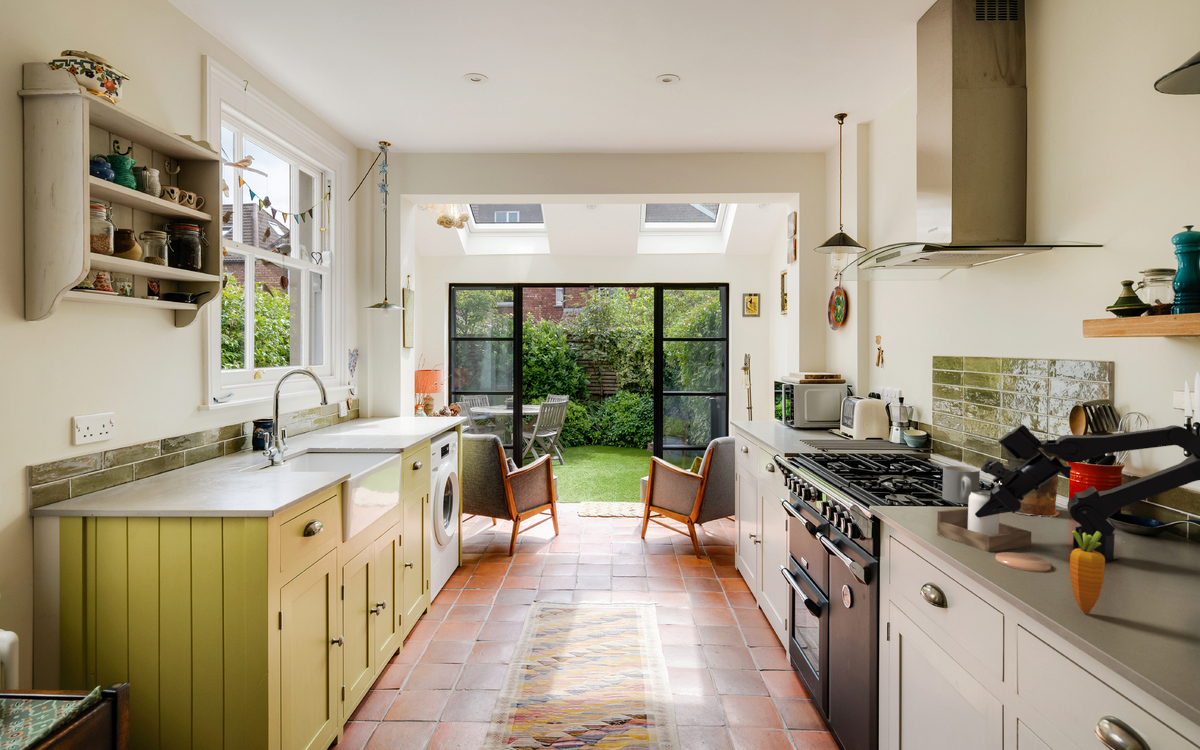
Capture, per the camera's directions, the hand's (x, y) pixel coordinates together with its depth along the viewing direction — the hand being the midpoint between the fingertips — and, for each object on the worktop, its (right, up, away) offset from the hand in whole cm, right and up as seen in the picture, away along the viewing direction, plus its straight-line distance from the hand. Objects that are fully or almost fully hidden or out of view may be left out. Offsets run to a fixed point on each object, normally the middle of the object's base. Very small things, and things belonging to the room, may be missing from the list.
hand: (976, 512), depth 149 cm
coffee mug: (+20, -6, +40) cm, 45 cm away
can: (+1, -7, -1) cm, 7 cm away
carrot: (-8, -8, -43) cm, 44 cm away
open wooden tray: (+1, -7, -1) cm, 7 cm away
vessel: (+34, -6, +28) cm, 44 cm away
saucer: (-1, -7, -17) cm, 18 cm away
